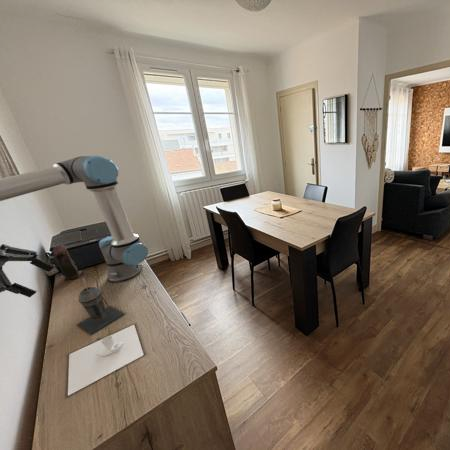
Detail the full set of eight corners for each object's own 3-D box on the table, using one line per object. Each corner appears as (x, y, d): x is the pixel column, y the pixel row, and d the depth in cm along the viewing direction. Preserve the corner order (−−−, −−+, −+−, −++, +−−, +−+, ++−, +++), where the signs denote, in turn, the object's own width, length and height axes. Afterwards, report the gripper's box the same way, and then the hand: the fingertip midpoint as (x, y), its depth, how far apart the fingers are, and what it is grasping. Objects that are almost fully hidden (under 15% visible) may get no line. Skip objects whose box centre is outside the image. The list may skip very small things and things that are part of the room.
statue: (82, 272, 139) (68, 241, 132) (79, 278, 134) (64, 246, 126) (67, 276, 136) (52, 245, 129) (63, 282, 131) (47, 250, 123)
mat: (109, 306, 109) (109, 306, 109) (124, 314, 104) (124, 313, 104) (77, 324, 99) (77, 324, 99) (91, 334, 94) (91, 333, 94)
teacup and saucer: (126, 348, 86) (122, 340, 85) (98, 362, 82) (93, 353, 80) (122, 335, 93) (119, 326, 91) (96, 347, 88) (92, 338, 86)
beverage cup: (88, 328, 97) (68, 287, 89) (91, 317, 102) (72, 278, 95) (110, 320, 100) (92, 280, 93) (112, 310, 106) (95, 272, 99)
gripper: (-14, 235, 87) (51, 265, 100) (-76, 282, 67) (15, 313, 80) (2, 222, 86) (65, 255, 99) (-56, 267, 67) (32, 300, 80)
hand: (43, 281), depth 90 cm, fingers open, 13 cm apart
